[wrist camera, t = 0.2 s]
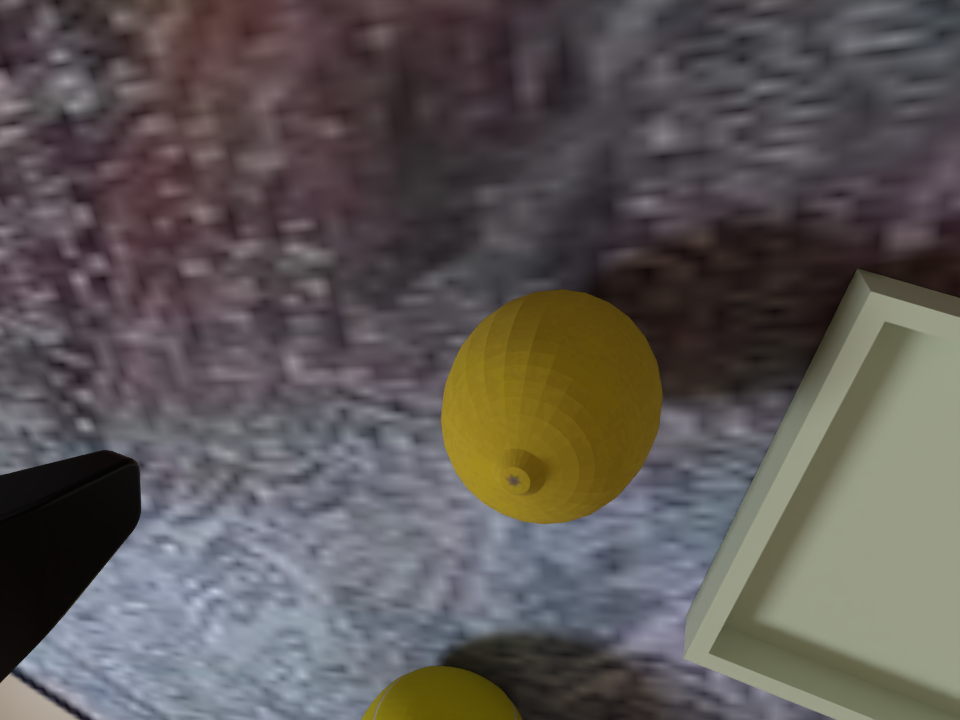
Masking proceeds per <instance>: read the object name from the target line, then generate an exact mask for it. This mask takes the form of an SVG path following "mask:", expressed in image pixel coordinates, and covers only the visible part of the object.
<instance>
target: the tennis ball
mask: <svg viewBox="0 0 960 720" xmlns="http://www.w3.org/2000/svg"><path fill="white" fill-rule="evenodd" d="M361 720H523V719H522V717H521V715H520V713H519V712H518V710H517V708H516V707H515V705H514V704H513V703H512V702H511V700H510V699H509V698H508V697H507V696H506V694H505V693H504V692H503V691H502V690H501V689H500V688H499V687H498V686H496V685H495V684H494V683H492V682H491V681H489V680H487V679H485V678H484V677H482V676H480V675H478V674H476V673H473V672H471V671H468V670H464V669H461V668H455V667H448V666H429V667H424V668H421V669H418V670H415V671H413V672H410V673H408V674H406V675H403V676H401V677H400V678H398V679H396V680H395V681H394V682H392V683H391V684H390V685H389V686H387V687H386V688H385V689H384V690H383V691H382V692H381V693H380V694H379V695H378V697H377V698H376V699H375V700H374V701H373V703H372V704H371V705H370V707H369V708H368V709H367V711H366V712H365V714H364V716H363V717H362V719H361Z"/></svg>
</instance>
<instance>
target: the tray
mask: <svg viewBox="0 0 960 720" xmlns="http://www.w3.org/2000/svg"><path fill="white" fill-rule="evenodd" d="M684 659H686V660H689V661H691V662H694V663H696V664H699V665H701V666H704V667H706V668H709V669H711V670H714V671H716V672H719V673H721V674H724V675H726V676H729V677H731V678H734V679H736V680H739V681H741V682H744V683H746V684H749V685H751V686H754V687H756V688H759V689H761V690H764V691H766V692H768V693H771V694H773V695H776V696H778V697H781V698H783V699H786V700H788V701H791V702H793V703H796V704H798V705H801V706H803V707H806V708H808V709H811V710H813V711H816V712H818V713H821V714H823V715H826V716H828V717H831V718H833V719H836V720H960V298H958V297H955V296H951V295H948V294H944V293H941V292H937V291H934V290H930V289H927V288H924V287H920V286H917V285H913V284H910V283H906V282H903V281H899V280H896V279H892V278H889V277H886V276H882V275H879V274H875V273H872V272H868V271H865V270H861V269H858V268H857V270H856V272H855V274H854V276H853V278H852V280H851V282H850V284H849V286H848V288H847V290H846V292H845V294H844V296H843V298H842V300H841V302H840V304H839V306H838V308H837V310H836V312H835V314H834V316H833V318H832V321H831V323H830V325H829V327H828V329H827V331H826V333H825V335H824V337H823V339H822V341H821V343H820V345H819V347H818V349H817V351H816V353H815V355H814V357H813V359H812V361H811V363H810V365H809V367H808V369H807V371H806V373H805V375H804V377H803V379H802V381H801V383H800V386H799V388H798V390H797V392H796V394H795V396H794V398H793V400H792V402H791V404H790V406H789V408H788V410H787V412H786V414H785V416H784V418H783V420H782V422H781V424H780V426H779V428H778V430H777V432H776V434H775V436H774V438H773V440H772V442H771V444H770V446H769V448H768V451H767V453H766V455H765V457H764V459H763V461H762V463H761V465H760V467H759V469H758V471H757V473H756V475H755V477H754V479H753V481H752V483H751V485H750V487H749V489H748V491H747V493H746V495H745V497H744V499H743V501H742V503H741V505H740V507H739V509H738V511H737V514H736V516H735V518H734V520H733V522H732V524H731V526H730V528H729V530H728V532H727V534H726V536H725V538H724V540H723V542H722V544H721V546H720V548H719V550H718V552H717V554H716V556H715V558H714V560H713V562H712V564H711V566H710V568H709V570H708V572H707V574H706V576H705V579H704V581H703V583H702V585H701V587H700V589H699V591H698V593H697V595H696V597H695V599H694V601H693V603H692V605H691V607H690V609H689V611H688V613H687V615H686V629H685V645H684Z"/></svg>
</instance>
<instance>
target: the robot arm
mask: <svg viewBox="0 0 960 720" xmlns="http://www.w3.org/2000/svg"><path fill="white" fill-rule="evenodd" d="M140 514H141V489H140V469H139V466H138V464H137V462H136V461H135V460H133V459H131V458H129V457H126V456H124V455H121V454H118V453H116V452H113V451H109V450H102V451H98V452H94V453H89V454H85V455H81V456H77V457H73V458H69V459H65V460H61V461H57V462H53V463H49V464H45V465H41V466H37V467H33V468H29V469H25V470H21V471H16V472H12V473H8V474H4V475H0V683H1V682H2V681H3V680H4V678H6V677H7V676H8V675H9V674H10V673H11V672H12V670H13V669H14V668H15V667H16V666H17V665H18V664H19V663H20V662H21V661H22V660H23V659H24V658H25V657H26V656H27V655H28V654H29V653H30V652H31V651H32V650H33V649H34V648H35V647H36V646H37V645H38V644H39V643H40V642H41V641H42V640H43V639H44V637H45V636H46V635H47V634H48V633H49V632H50V631H51V630H52V629H53V628H54V626H55V625H56V624H57V623H58V622H59V621H60V620H61V618H62V617H63V616H64V615H65V614H66V613H67V611H68V610H69V609H70V608H71V606H72V605H73V604H74V603H75V602H76V600H77V599H78V598H79V597H80V595H81V594H82V593H83V592H84V590H85V589H86V588H87V587H88V586H89V584H90V583H91V582H92V581H93V579H94V578H95V577H96V576H97V575H98V573H99V572H100V571H101V570H102V568H103V567H104V566H105V565H106V564H107V562H108V561H109V560H110V559H111V557H112V556H113V555H114V554H115V552H116V551H117V550H118V549H119V548H120V546H121V545H122V544H123V543H124V541H125V540H126V539H127V538H128V537H129V535H130V534H131V533H132V531H133V530H134V529H135V527H136V525H137V523H138V521H139V518H140Z"/></svg>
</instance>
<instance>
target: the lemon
mask: <svg viewBox="0 0 960 720" xmlns="http://www.w3.org/2000/svg"><path fill="white" fill-rule="evenodd" d="M662 398H663V394H662V386H661V380H660V374H659V369H658V364H657V361H656V358H655V356H654V354H653V352H652V350H651V348H650V346H649V343H648V341H647V339H646V337H645V336H644V334H643V333H642V332H641V331H640V330H639V328H638V327H637V326H636V325H635V324H634V322H633V321H632V320H631V319H630V318H629V317H628V316H627V315H626V314H624V313H623V312H621V311H620V310H619V309H617V308H616V307H615V306H613V305H612V304H610V303H609V302H607V301H604V300H602V299H599V298H597V297H595V296H592V295H590V294H587V293H583V292H576V291H570V290H564V289H561V290H550V291H539V292H534V293H531V294H529V295H526V296H523V297H520V298H517V299H515V300H512V301H510V302H508V303H506V304H505V305H504V306H502V307H501V308H499V309H498V310H496V311H495V312H493V313H492V314H491V315H489V316H488V317H486V318H485V319H484V320H483V321H482V322H481V323H480V324H479V325H478V326H477V327H476V329H475V330H474V331H473V332H472V334H471V335H470V336H469V337H468V339H467V340H466V341H465V342H464V344H463V345H462V347H461V348H460V350H459V352H458V354H457V357H456V359H455V361H454V364H453V366H452V369H451V371H450V373H449V376H448V379H447V381H446V385H445V389H444V397H443V406H442V415H441V424H442V432H443V438H444V444H445V448H446V451H447V453H448V455H449V458H450V460H451V462H452V465H453V467H454V469H455V472H456V473H457V475H458V476H459V477H460V479H461V480H462V481H463V483H464V484H465V486H466V487H467V488H468V489H469V490H470V491H471V492H472V493H473V494H474V495H475V496H476V497H477V498H479V499H480V500H481V501H482V502H483V503H484V504H486V505H488V506H489V507H491V508H493V509H495V510H496V511H498V512H500V513H501V514H503V515H506V516H509V517H512V518H515V519H518V520H520V521H524V522H532V523H539V524H551V523H563V522H568V521H572V520H575V519H578V518H581V517H584V516H587V515H590V514H592V513H594V512H595V511H597V510H598V509H600V508H601V507H603V506H604V505H606V504H607V503H609V502H611V501H612V500H614V499H615V498H616V497H617V496H618V495H619V494H620V493H621V492H622V491H623V490H624V489H625V487H626V486H627V485H628V484H629V483H630V482H631V480H632V479H633V478H634V477H635V476H636V474H637V473H638V472H639V471H640V469H641V468H642V466H643V464H644V463H645V460H646V458H647V456H648V454H649V451H650V449H651V447H652V445H653V442H654V440H655V438H656V436H657V433H658V429H659V424H660V415H661V407H662Z"/></svg>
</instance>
